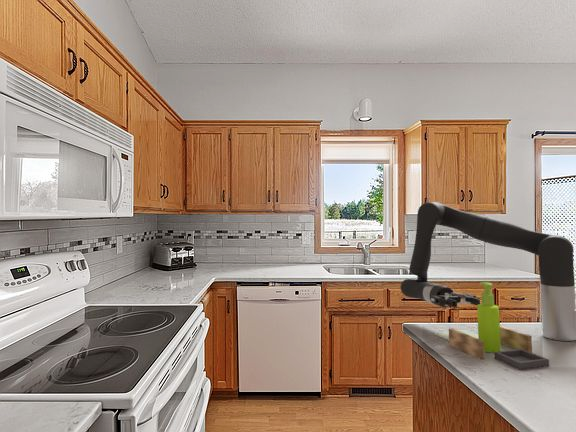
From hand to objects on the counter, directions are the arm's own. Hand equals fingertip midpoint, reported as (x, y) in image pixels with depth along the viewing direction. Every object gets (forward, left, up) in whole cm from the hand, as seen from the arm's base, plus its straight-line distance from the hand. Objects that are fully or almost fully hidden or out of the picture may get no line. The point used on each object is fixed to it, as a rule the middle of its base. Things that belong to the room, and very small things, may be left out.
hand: (467, 303), depth 126 cm
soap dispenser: (-4, +8, -12) cm, 15 cm away
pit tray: (-10, +18, -12) cm, 24 cm away
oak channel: (-4, +8, -12) cm, 15 cm away
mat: (+2, -4, -12) cm, 13 cm away
